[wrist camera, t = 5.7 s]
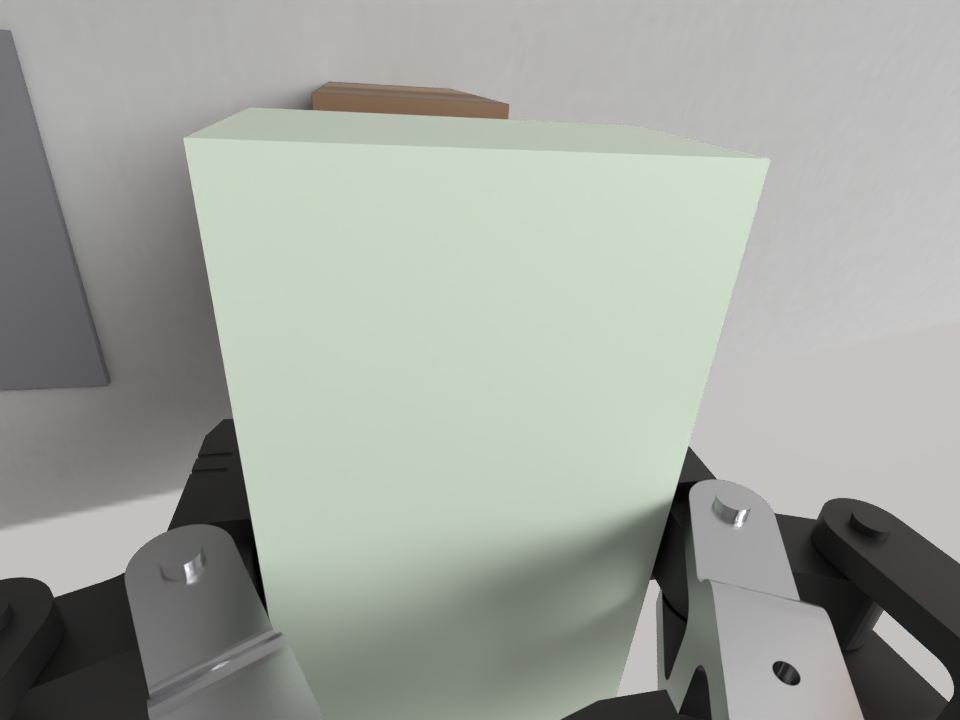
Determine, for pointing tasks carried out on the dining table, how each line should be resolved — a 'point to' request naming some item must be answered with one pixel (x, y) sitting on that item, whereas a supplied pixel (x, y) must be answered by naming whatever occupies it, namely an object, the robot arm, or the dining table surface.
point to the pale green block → (463, 388)
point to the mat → (37, 258)
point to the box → (405, 101)
